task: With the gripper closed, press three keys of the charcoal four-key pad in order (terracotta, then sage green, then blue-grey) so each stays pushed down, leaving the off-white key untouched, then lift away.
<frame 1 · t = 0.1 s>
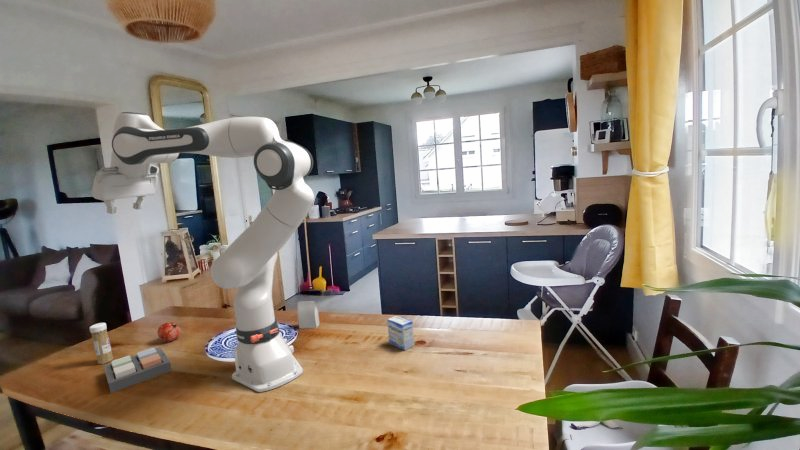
hand: (124, 210, 119), 52 cm above the table, tool tilted 20°, fingers open, 8 cm apart
pomegranate: (170, 340, 148), on the table
key sage: (122, 364, 125), point 3 cm above the table, slide at 0.0 cm
key terracotta: (151, 362, 124), point 3 cm above the table, slide at 0.0 cm
light grey tapered block: (309, 326, 149), on the table
keypad: (138, 372, 125), on the table
sprinkles bottle: (105, 361, 135), on the table
key offwhite: (125, 371, 120), point 3 cm above the table, slide at 0.0 cm
key bluegrey: (147, 355, 129), point 3 cm above the table, slide at 0.0 cm
medicine box: (401, 345, 127), on the table
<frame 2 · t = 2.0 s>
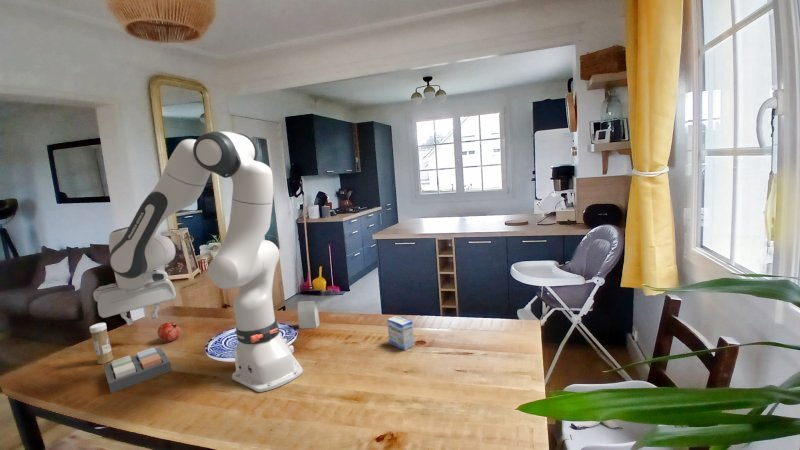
hand: (142, 321, 122), 17 cm above the table, tool pointing down, fingers open, 5 cm apart
nothing on the table moved.
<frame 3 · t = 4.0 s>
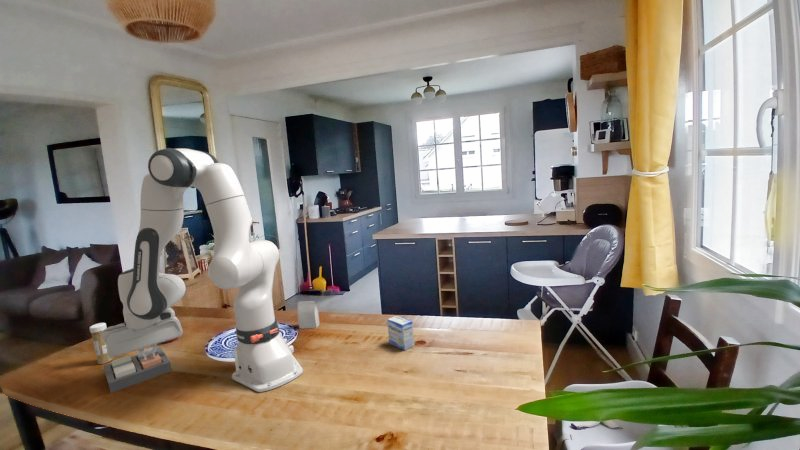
hand: (149, 358, 124), 4 cm above the table, tool pointing down, fingers closed, pressing on key terracotta
key terracotta: (151, 362, 124), point 3 cm above the table, slide at 0.1 cm, touching gripper
everything else where it was.
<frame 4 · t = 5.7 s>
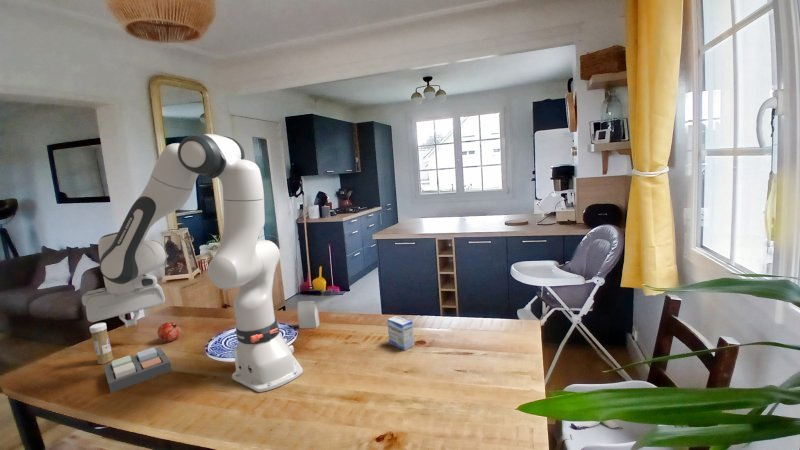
hand: (131, 325, 122), 16 cm above the table, tool pointing down, fingers closed
key terracotta: (152, 365, 124), point 2 cm above the table, slide at 1.2 cm, touching keypad
everything else where it was.
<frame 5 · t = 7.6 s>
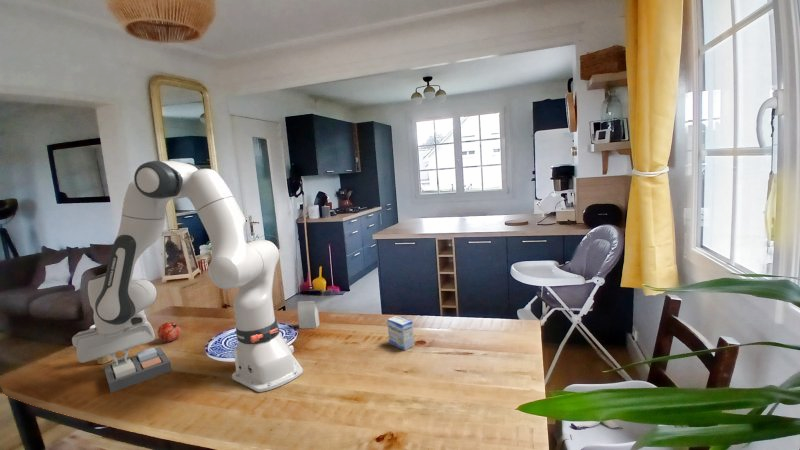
hand: (121, 363, 125), 3 cm above the table, tool pointing down, fingers closed, pressing on key sage
key sage: (122, 367, 125), point 2 cm above the table, slide at 1.1 cm, touching gripper
everything else where it was.
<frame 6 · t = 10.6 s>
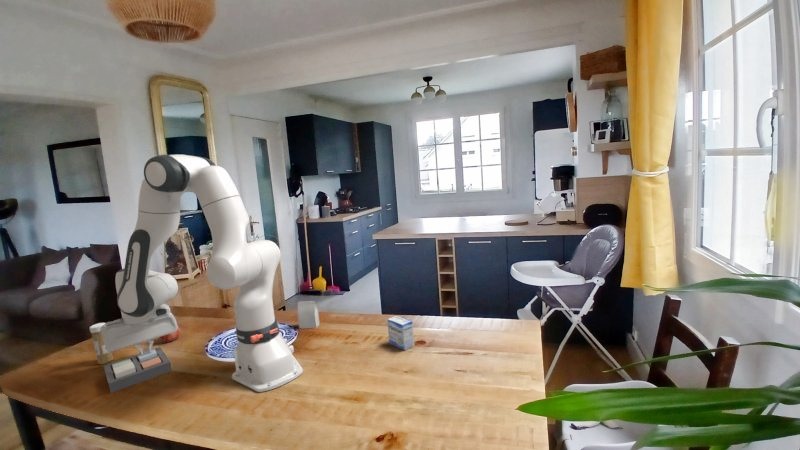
hand: (146, 353, 129), 4 cm above the table, tool pointing down, fingers closed, pressing on key bluegrey
key sage: (122, 367, 125), point 2 cm above the table, slide at 1.2 cm, touching keypad
key bluegrey: (147, 356, 129), point 3 cm above the table, slide at 0.5 cm, touching gripper
everything else where it was.
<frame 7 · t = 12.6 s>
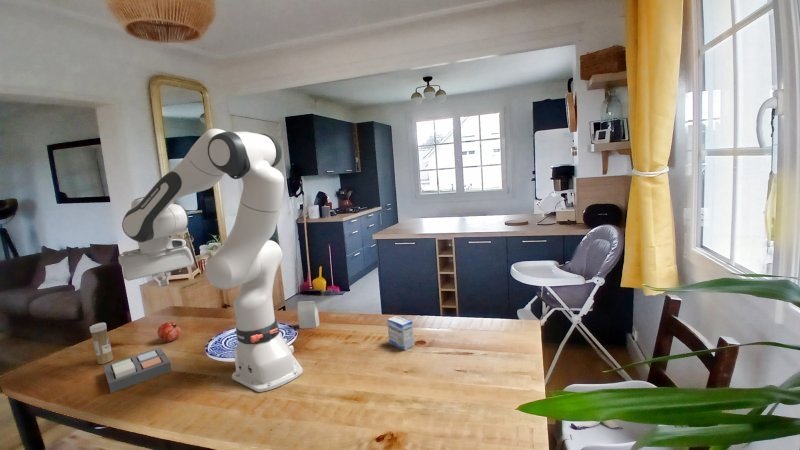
hand: (163, 285, 130), 25 cm above the table, tool pointing down, fingers closed
key bluegrey: (148, 358, 130), point 2 cm above the table, slide at 1.2 cm, touching keypad
everything else where it was.
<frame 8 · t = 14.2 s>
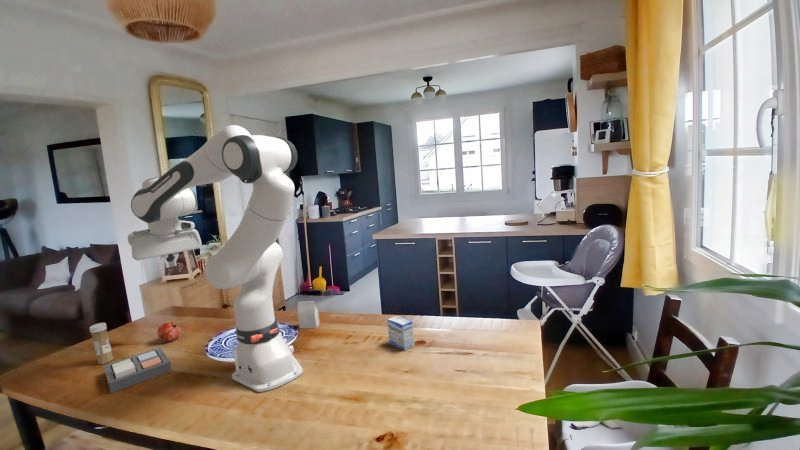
hand: (171, 266, 131), 31 cm above the table, tool pointing down, fingers closed
nothing on the table moved.
at the end: key terracotta slide at 1.2 cm; key sage slide at 1.2 cm; key bluegrey slide at 1.2 cm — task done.
